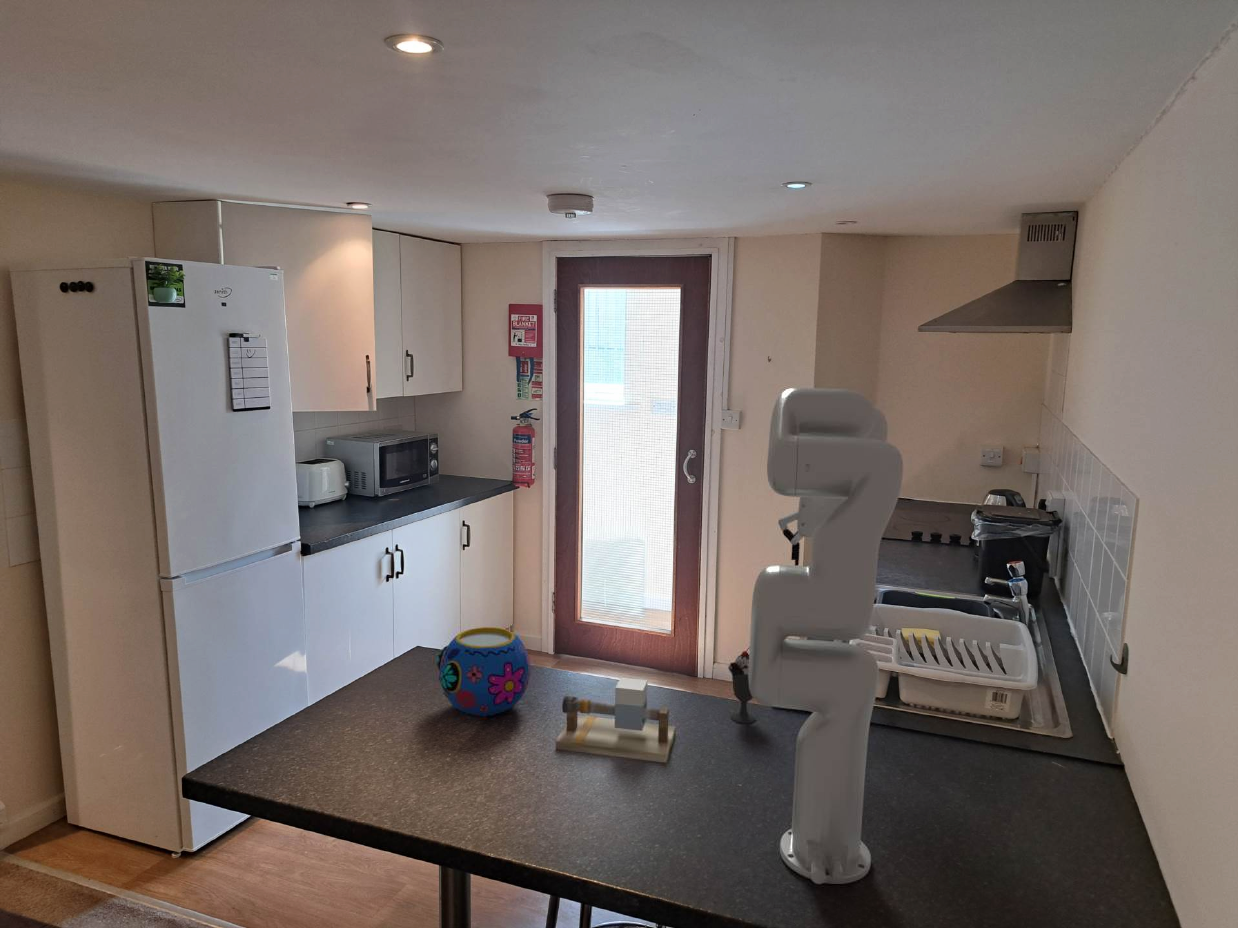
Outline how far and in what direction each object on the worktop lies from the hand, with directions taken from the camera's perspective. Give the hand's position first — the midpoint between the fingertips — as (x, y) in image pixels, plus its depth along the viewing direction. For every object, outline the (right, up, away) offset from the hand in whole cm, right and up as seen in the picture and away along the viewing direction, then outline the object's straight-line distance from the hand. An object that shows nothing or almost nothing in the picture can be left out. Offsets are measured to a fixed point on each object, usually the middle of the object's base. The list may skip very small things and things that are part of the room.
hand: (822, 565), depth 156 cm
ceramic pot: (-65, -29, +6) cm, 72 cm away
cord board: (-39, -31, -6) cm, 51 cm away
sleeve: (-37, -28, -7) cm, 47 cm away
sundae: (-14, -31, +5) cm, 34 cm away
